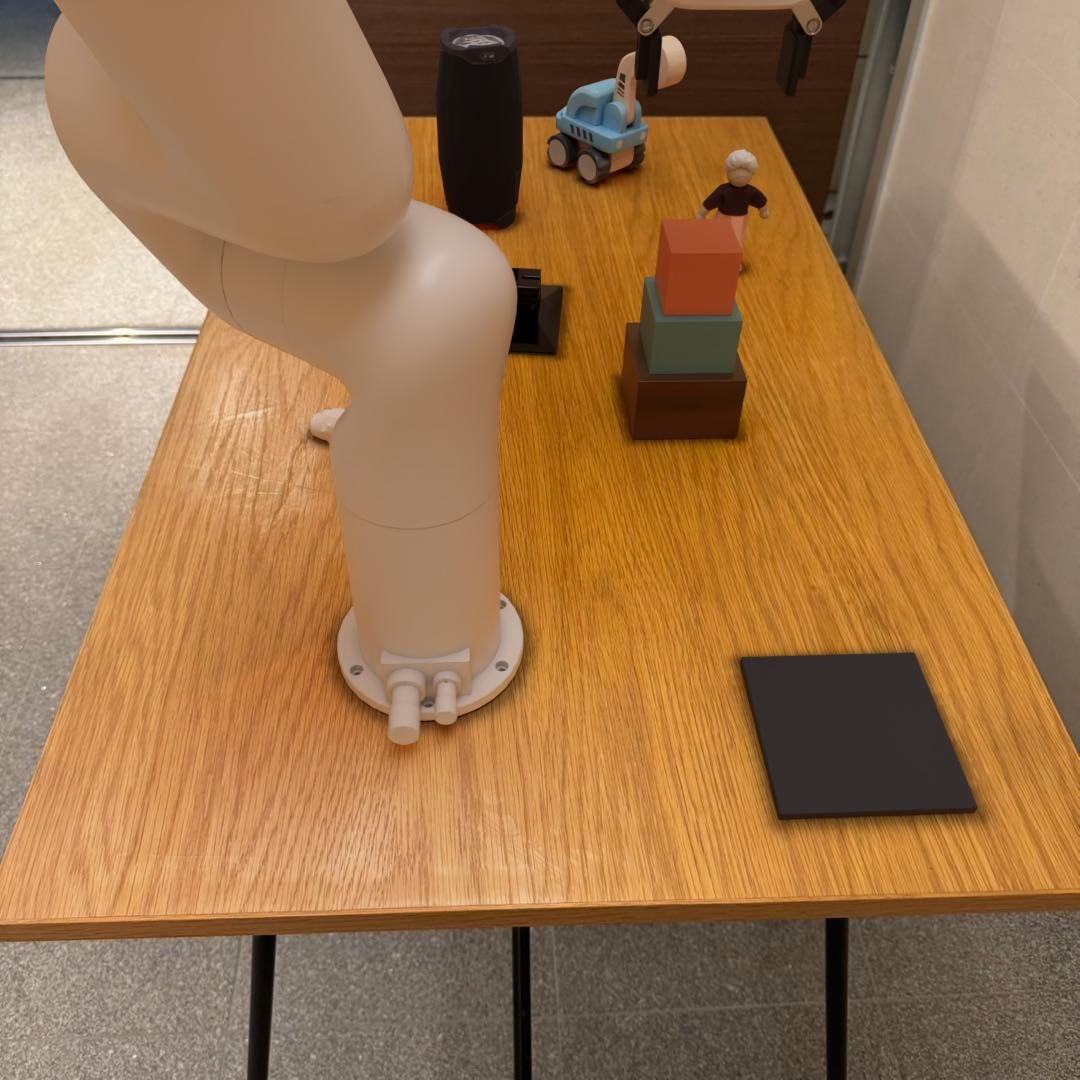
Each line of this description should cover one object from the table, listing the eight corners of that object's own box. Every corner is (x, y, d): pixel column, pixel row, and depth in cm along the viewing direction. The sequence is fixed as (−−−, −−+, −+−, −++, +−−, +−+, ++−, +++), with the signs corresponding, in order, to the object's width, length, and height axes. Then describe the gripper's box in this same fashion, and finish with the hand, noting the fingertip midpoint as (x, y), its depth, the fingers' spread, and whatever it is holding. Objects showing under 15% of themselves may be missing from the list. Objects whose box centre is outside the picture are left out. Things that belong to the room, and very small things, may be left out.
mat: (975, 812, 60) (978, 807, 60) (778, 819, 59) (780, 814, 59) (912, 657, 69) (914, 651, 68) (739, 662, 68) (741, 656, 68)
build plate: (556, 356, 95) (558, 314, 91) (480, 352, 95) (478, 310, 92) (563, 288, 103) (564, 247, 100) (493, 285, 104) (492, 243, 100)
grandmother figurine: (699, 280, 105) (716, 161, 96) (685, 262, 108) (700, 146, 99) (765, 271, 107) (788, 154, 98) (750, 254, 109) (771, 138, 101)
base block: (736, 438, 86) (747, 380, 82) (632, 439, 85) (638, 381, 81) (717, 377, 92) (727, 321, 88) (621, 378, 92) (626, 322, 88)
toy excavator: (636, 208, 117) (650, 53, 105) (540, 162, 125) (543, 14, 114) (685, 187, 121) (703, 36, 109) (588, 144, 130) (596, 0, 118)
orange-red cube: (732, 315, 79) (743, 252, 76) (663, 316, 79) (671, 252, 75) (719, 280, 83) (729, 218, 80) (654, 281, 83) (661, 218, 79)
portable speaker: (427, 216, 114) (415, 33, 101) (488, 192, 119) (484, 14, 106) (477, 243, 110) (471, 55, 96) (538, 216, 115) (540, 34, 101)
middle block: (733, 373, 82) (743, 320, 79) (649, 374, 82) (655, 321, 79) (718, 327, 87) (726, 275, 84) (639, 328, 87) (644, 276, 84)
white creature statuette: (376, 383, 91) (362, 262, 82) (454, 414, 88) (448, 292, 79) (306, 437, 85) (284, 313, 76) (387, 472, 82) (373, 347, 73)
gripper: (616, -204, 55) (599, 111, 67) (924, -201, 56) (852, 110, 68) (603, -225, 60) (589, 70, 72) (884, -222, 61) (824, 70, 73)
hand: (717, 89), depth 70 cm, fingers open, 9 cm apart
